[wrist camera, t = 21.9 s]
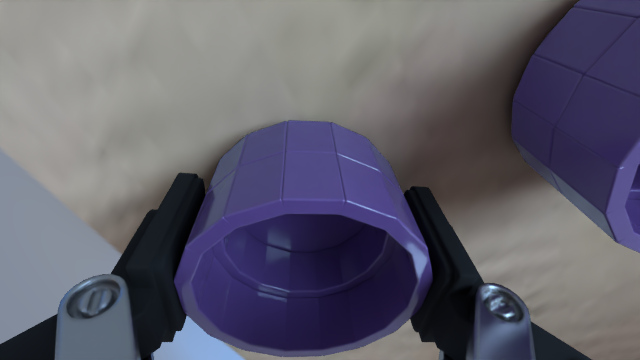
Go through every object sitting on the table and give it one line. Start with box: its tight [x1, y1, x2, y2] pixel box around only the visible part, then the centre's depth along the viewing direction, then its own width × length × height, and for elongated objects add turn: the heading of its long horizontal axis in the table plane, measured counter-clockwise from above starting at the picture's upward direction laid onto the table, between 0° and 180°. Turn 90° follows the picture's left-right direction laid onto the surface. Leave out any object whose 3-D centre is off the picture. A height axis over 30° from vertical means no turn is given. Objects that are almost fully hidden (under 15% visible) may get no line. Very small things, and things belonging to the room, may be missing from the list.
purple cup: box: [174, 120, 433, 357], centre depth 10 cm, size 7×7×4 cm
